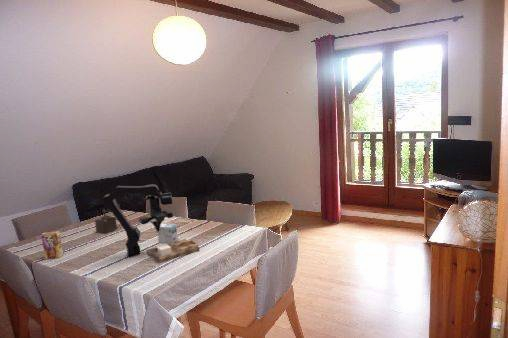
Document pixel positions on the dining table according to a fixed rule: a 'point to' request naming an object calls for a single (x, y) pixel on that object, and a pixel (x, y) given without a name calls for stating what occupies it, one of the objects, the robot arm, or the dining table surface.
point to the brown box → (106, 223)
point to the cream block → (164, 250)
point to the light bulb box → (167, 233)
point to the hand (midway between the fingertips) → (157, 231)
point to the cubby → (186, 244)
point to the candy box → (52, 245)
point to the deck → (175, 252)
